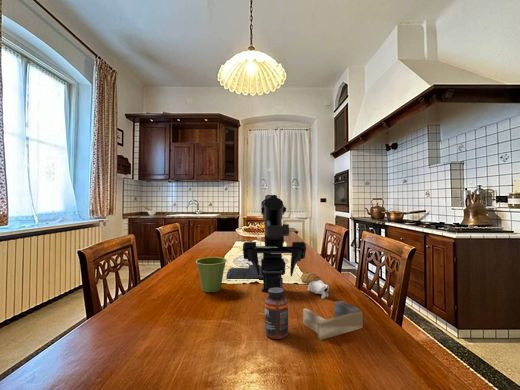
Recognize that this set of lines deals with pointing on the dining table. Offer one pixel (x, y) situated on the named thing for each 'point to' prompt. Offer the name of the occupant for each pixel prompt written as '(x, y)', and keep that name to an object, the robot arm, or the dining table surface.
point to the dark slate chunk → (244, 273)
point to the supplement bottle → (276, 314)
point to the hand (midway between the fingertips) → (275, 275)
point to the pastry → (309, 277)
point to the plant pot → (211, 273)
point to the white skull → (318, 288)
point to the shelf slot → (334, 320)
